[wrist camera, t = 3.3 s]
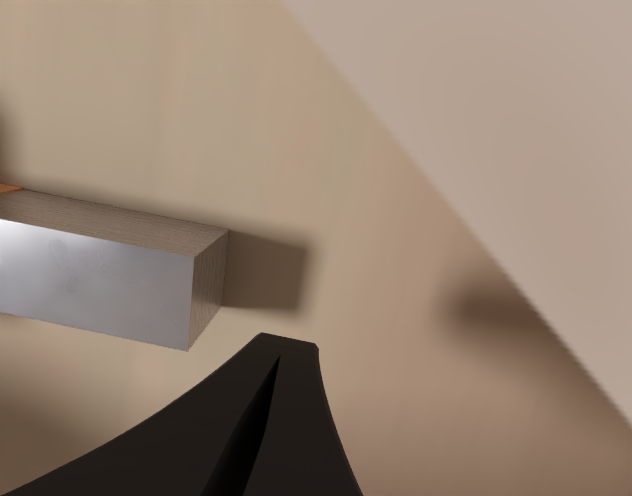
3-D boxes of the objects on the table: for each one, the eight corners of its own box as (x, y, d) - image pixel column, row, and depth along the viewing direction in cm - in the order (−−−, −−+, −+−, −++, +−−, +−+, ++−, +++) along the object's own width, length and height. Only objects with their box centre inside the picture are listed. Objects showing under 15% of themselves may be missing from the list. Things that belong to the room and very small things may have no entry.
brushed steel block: (-81, 245, 15) (-190, 275, 12) (-95, 165, 14) (-218, 175, 11) (221, 307, 14) (185, 355, 11) (229, 227, 13) (192, 256, 10)
